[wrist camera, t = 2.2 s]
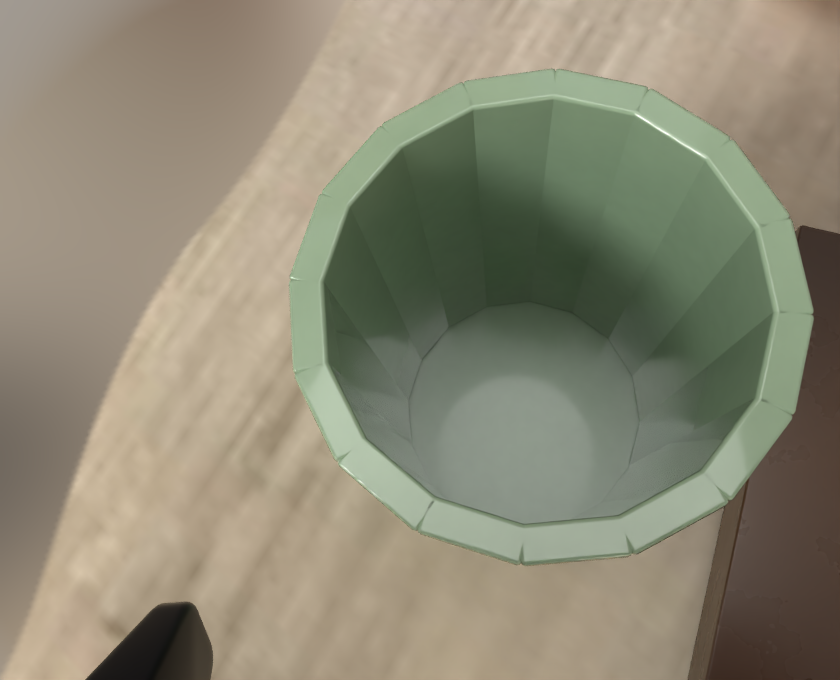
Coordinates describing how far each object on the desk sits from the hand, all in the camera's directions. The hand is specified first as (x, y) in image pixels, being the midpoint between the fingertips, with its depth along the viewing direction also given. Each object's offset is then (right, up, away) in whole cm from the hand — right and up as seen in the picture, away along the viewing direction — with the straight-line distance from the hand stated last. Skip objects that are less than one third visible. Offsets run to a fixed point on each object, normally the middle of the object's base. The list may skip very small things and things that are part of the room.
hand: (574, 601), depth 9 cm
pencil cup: (+1, +1, +11) cm, 11 cm away
